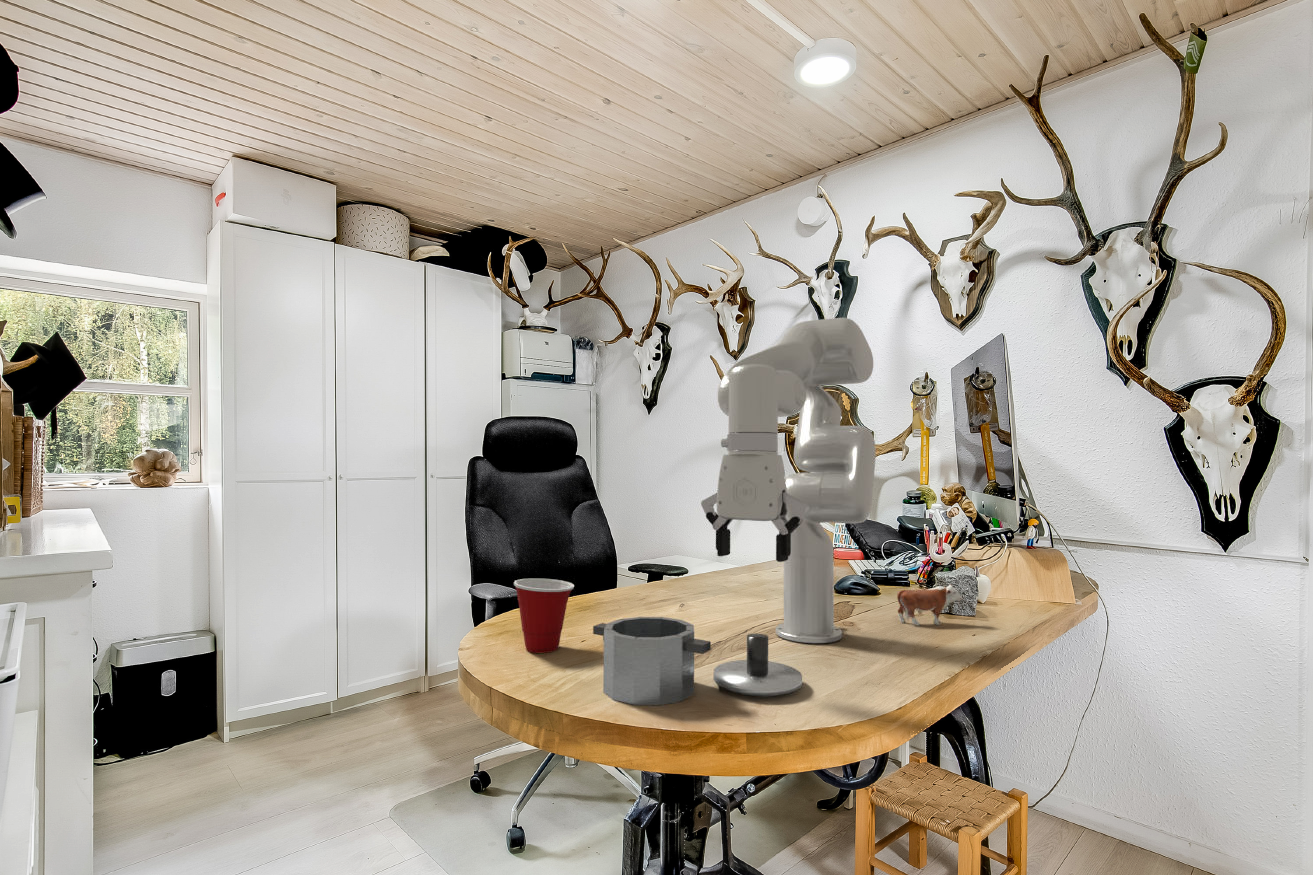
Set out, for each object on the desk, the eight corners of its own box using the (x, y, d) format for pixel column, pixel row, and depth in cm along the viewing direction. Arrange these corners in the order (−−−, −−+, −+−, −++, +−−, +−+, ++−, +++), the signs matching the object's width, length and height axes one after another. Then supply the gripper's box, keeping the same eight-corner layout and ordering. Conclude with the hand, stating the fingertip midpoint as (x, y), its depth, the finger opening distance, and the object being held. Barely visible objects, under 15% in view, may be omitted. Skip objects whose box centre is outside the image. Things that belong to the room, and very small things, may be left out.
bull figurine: (964, 626, 135) (964, 586, 135) (900, 626, 135) (900, 586, 135) (954, 621, 139) (954, 582, 140) (892, 621, 139) (892, 582, 139)
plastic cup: (578, 654, 113) (579, 585, 114) (515, 659, 110) (515, 588, 111) (569, 638, 124) (569, 574, 124) (510, 642, 121) (511, 577, 121)
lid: (735, 667, 107) (736, 621, 108) (814, 682, 100) (814, 633, 101) (698, 690, 96) (698, 639, 97) (783, 709, 89) (783, 653, 90)
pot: (621, 665, 107) (622, 610, 108) (727, 687, 97) (727, 626, 98) (570, 689, 96) (570, 627, 97) (683, 716, 86) (683, 648, 86)
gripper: (691, 445, 102) (690, 556, 101) (798, 444, 92) (797, 566, 91) (714, 447, 108) (713, 551, 107) (815, 446, 99) (815, 560, 98)
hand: (752, 558), depth 99 cm, fingers open, 9 cm apart
